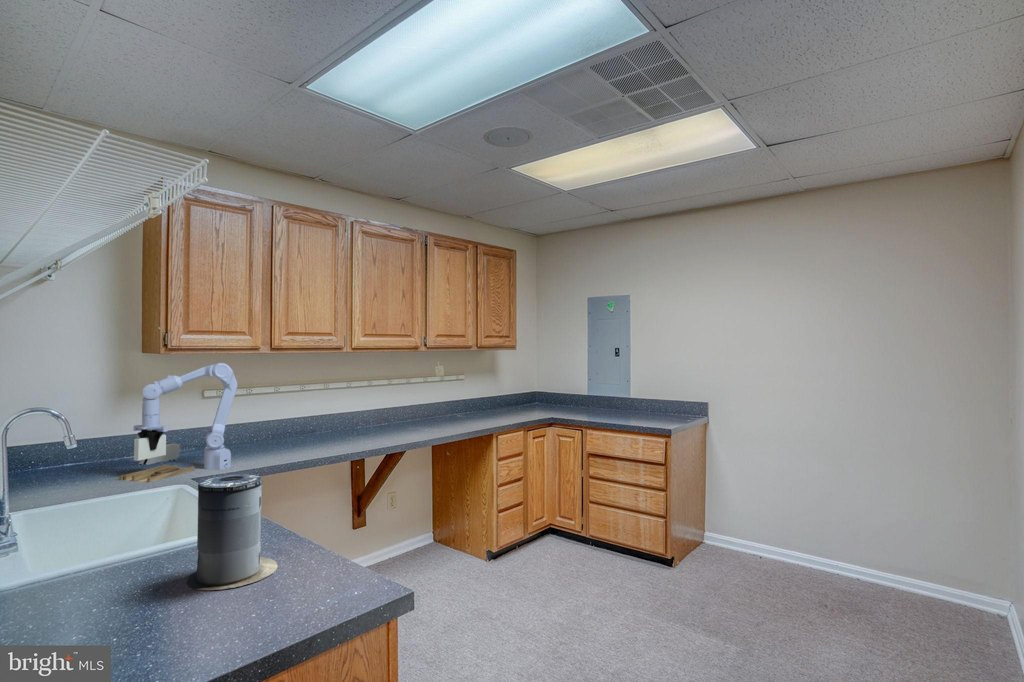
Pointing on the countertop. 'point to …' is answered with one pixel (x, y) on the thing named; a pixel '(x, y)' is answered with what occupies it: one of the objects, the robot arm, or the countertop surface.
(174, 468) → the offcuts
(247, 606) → the countertop surface
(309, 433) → the countertop surface
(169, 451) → the grey curved slab
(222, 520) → the trash can
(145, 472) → the rack
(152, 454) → the white rectangular block
